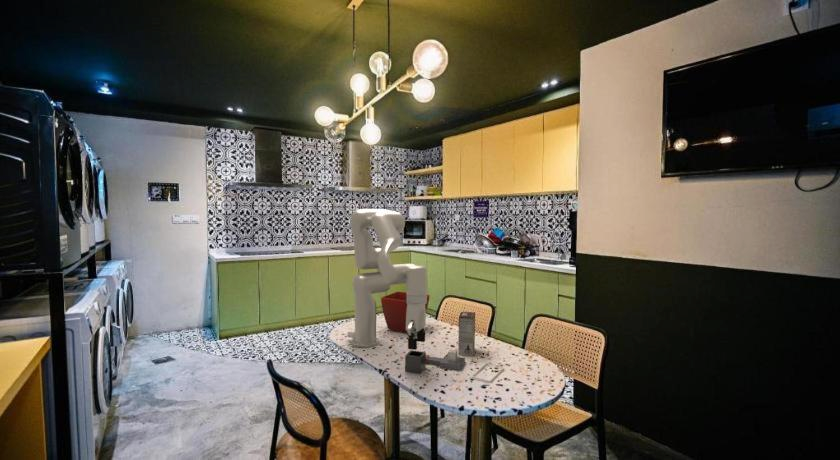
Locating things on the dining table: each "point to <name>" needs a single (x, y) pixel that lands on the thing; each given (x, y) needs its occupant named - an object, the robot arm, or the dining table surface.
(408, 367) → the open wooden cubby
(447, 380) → the dining table surface
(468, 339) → the coffee box
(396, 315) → the plant pot
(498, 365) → the phone case
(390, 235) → the robot arm
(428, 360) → the ratchet
